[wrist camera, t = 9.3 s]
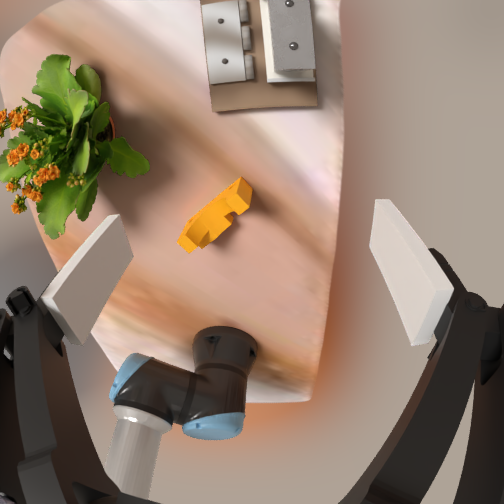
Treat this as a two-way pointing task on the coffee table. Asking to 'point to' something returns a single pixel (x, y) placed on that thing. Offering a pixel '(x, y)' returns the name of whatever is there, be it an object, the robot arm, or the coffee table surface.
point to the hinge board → (244, 60)
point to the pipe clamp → (215, 216)
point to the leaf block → (291, 35)
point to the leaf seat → (271, 75)
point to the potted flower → (63, 145)
